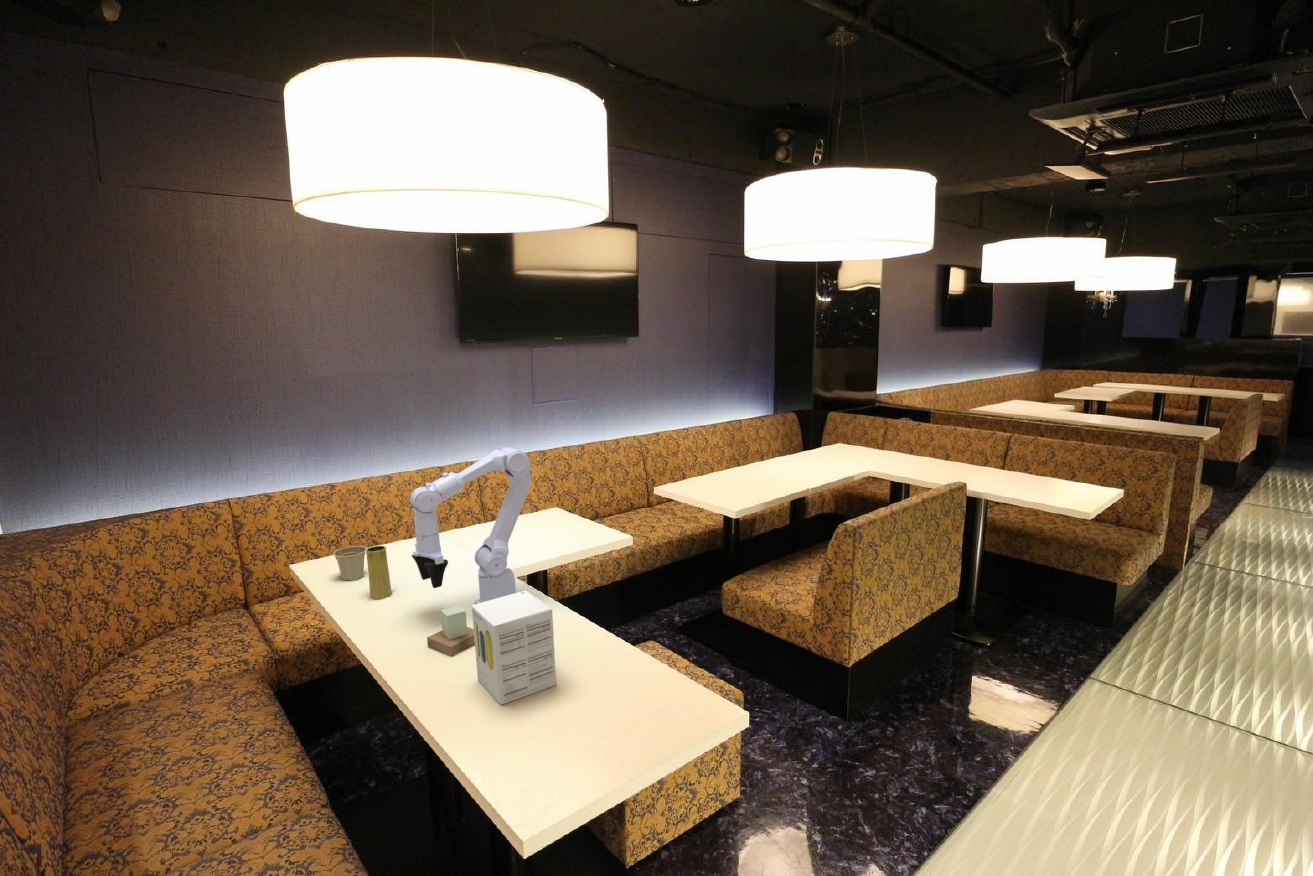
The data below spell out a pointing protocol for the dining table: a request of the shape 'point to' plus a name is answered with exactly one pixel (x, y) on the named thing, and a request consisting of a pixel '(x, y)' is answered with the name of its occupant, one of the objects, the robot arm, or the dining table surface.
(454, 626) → the sage block
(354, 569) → the flower pot
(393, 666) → the dining table surface
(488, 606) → the supplement box
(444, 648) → the walnut slab
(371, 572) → the vase
